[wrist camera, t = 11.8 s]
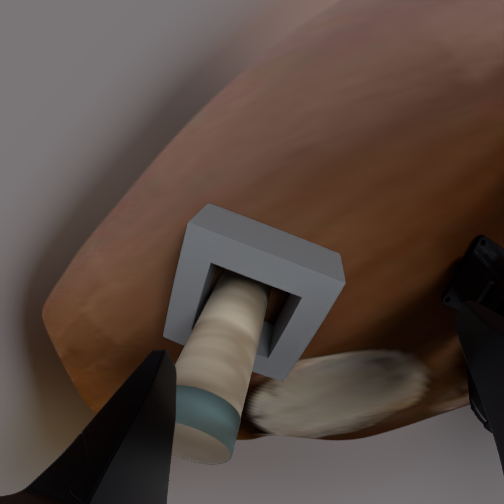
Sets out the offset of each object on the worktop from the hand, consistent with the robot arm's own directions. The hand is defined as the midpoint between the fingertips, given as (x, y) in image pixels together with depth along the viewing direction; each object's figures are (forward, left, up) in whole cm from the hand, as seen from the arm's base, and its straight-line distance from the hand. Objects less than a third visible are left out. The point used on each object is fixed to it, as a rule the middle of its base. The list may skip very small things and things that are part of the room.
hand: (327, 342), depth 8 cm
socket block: (+2, +8, -13) cm, 16 cm away
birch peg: (+2, +8, -13) cm, 16 cm away
